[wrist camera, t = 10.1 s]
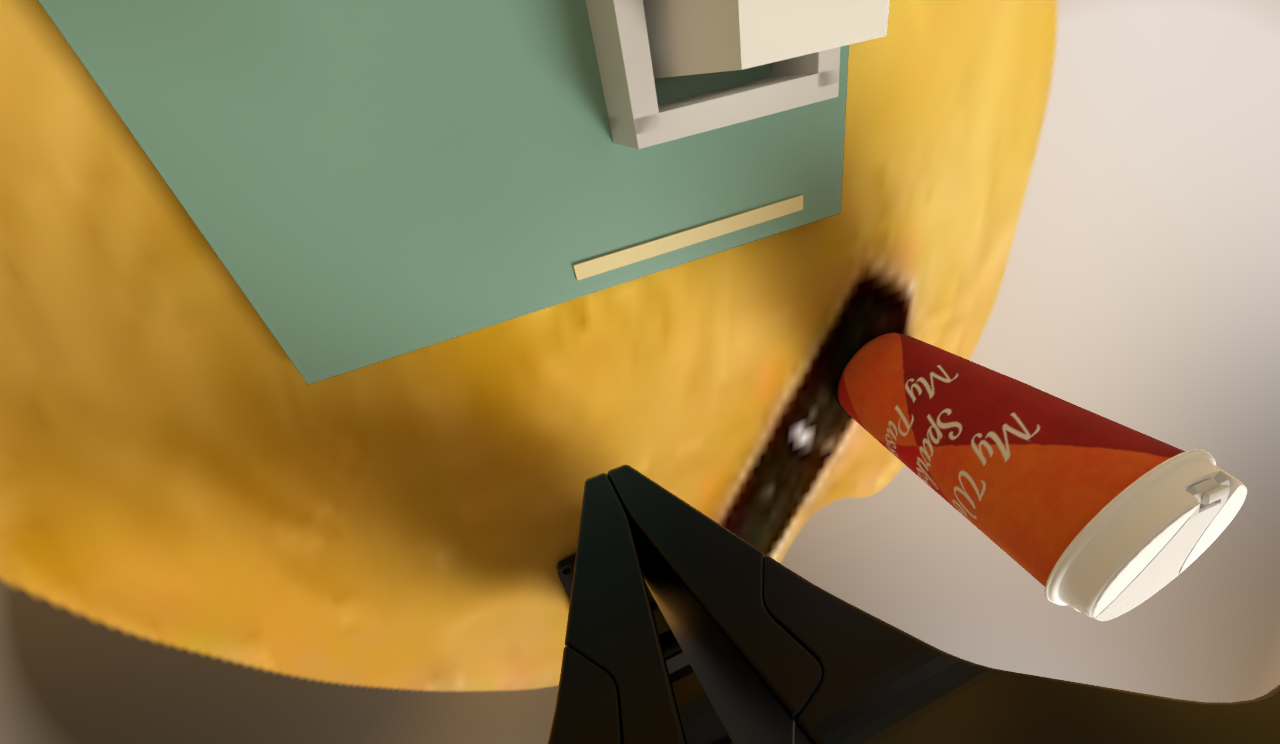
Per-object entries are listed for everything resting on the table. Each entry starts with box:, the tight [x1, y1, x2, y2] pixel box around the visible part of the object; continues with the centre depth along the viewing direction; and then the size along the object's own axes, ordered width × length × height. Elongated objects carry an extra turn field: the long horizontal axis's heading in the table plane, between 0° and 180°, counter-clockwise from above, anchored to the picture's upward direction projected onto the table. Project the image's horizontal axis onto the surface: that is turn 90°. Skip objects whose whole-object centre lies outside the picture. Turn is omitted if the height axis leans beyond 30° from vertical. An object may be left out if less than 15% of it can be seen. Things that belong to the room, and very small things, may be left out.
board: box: [38, 0, 849, 385], centre depth 14 cm, size 14×22×4 cm, turn 100°
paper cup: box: [837, 333, 1247, 621], centre depth 23 cm, size 8×8×14 cm
